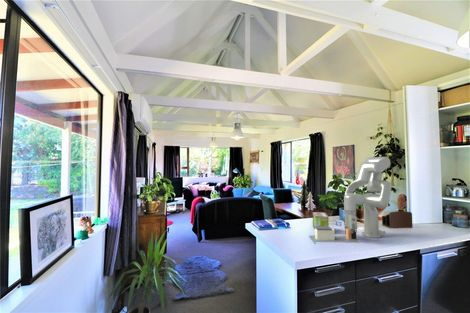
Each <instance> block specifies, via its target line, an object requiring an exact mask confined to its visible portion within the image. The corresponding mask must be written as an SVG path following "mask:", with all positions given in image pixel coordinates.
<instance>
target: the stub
mask: <svg viewBox="0 0 470 313" xmlns="http://www.w3.org/2000/svg"><path fill="white" fill-rule="evenodd" d="M352 229H354V228H352ZM351 233H352V232H351V230H350V229H349V228H346V234H345V236H346V239H348V240H357V238H356V239H351Z"/></svg>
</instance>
